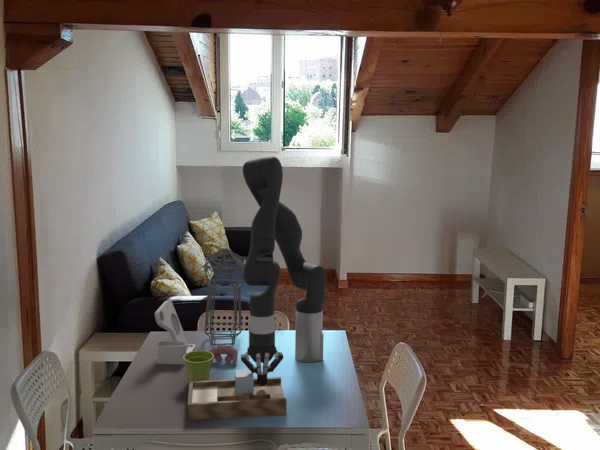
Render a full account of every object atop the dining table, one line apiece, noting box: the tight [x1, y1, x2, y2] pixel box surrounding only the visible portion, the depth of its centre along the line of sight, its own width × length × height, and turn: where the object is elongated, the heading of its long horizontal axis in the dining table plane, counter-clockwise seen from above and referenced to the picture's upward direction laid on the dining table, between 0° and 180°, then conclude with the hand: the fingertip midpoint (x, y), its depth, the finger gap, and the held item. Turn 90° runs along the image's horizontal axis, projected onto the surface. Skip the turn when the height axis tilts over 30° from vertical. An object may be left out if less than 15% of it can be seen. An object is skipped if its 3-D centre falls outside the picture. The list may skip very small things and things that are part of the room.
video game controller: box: [209, 344, 239, 367], centre depth 205 cm, size 10×5×7 cm, turn 85°
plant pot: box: [183, 350, 215, 383], centre depth 189 cm, size 9×9×9 cm
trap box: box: [187, 376, 287, 421], centre depth 175 cm, size 27×15×4 cm, turn 98°
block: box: [234, 369, 255, 394], centre depth 178 cm, size 5×5×5 cm
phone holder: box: [154, 299, 196, 366], centre depth 210 cm, size 17×10×18 cm, turn 177°
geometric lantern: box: [202, 247, 247, 346], centre depth 223 cm, size 16×16×35 cm
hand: (262, 385), depth 179 cm, fingers closed
